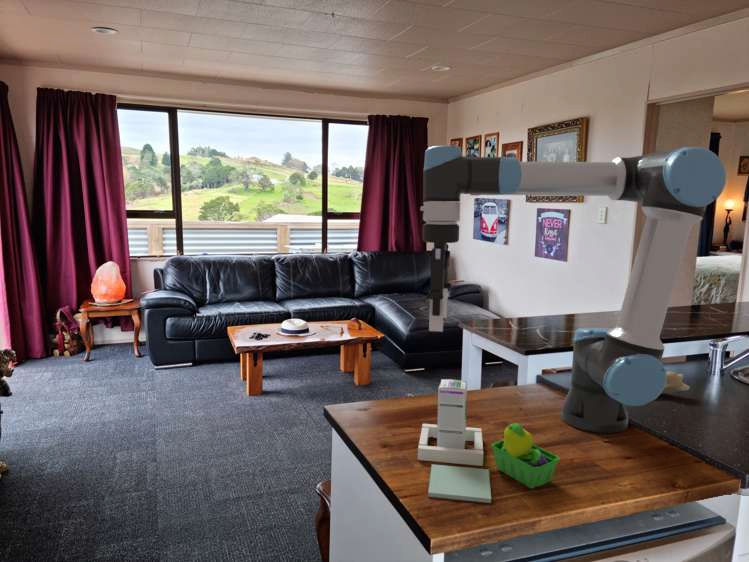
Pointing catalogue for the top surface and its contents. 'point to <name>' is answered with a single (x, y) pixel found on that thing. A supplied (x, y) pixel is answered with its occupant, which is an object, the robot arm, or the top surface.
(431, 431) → the white open square frame
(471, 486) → the mat
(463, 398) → the syrup box
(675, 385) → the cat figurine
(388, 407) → the top surface
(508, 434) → the fruit basket
